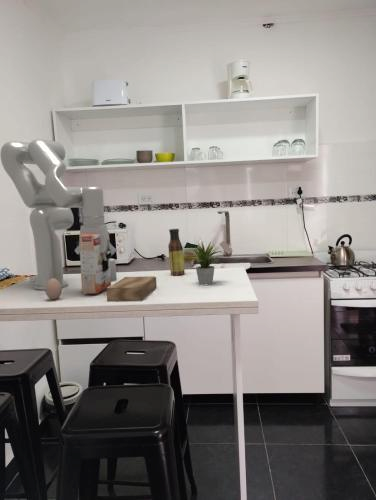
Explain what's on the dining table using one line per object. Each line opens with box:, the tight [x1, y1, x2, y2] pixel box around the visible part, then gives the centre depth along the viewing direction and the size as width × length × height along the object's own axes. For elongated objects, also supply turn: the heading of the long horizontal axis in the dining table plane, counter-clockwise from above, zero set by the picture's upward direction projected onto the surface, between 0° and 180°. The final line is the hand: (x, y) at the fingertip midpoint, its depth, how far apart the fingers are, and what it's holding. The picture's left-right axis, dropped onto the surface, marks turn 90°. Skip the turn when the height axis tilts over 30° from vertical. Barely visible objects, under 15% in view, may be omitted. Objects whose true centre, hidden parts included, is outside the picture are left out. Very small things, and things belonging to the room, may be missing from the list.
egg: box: [45, 278, 63, 301], centre depth 141 cm, size 5×5×7 cm
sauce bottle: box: [167, 228, 186, 276], centre depth 177 cm, size 6×6×20 cm
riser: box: [105, 275, 158, 302], centre depth 144 cm, size 12×20×4 cm, turn 171°
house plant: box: [189, 241, 225, 286], centre depth 154 cm, size 14×14×16 cm
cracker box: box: [78, 231, 112, 295], centre depth 149 cm, size 14×6×21 cm, turn 169°
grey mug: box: [110, 258, 118, 283], centre depth 174 cm, size 9×13×9 cm
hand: (96, 270), depth 150 cm, fingers closed on cracker box, 6 cm apart
